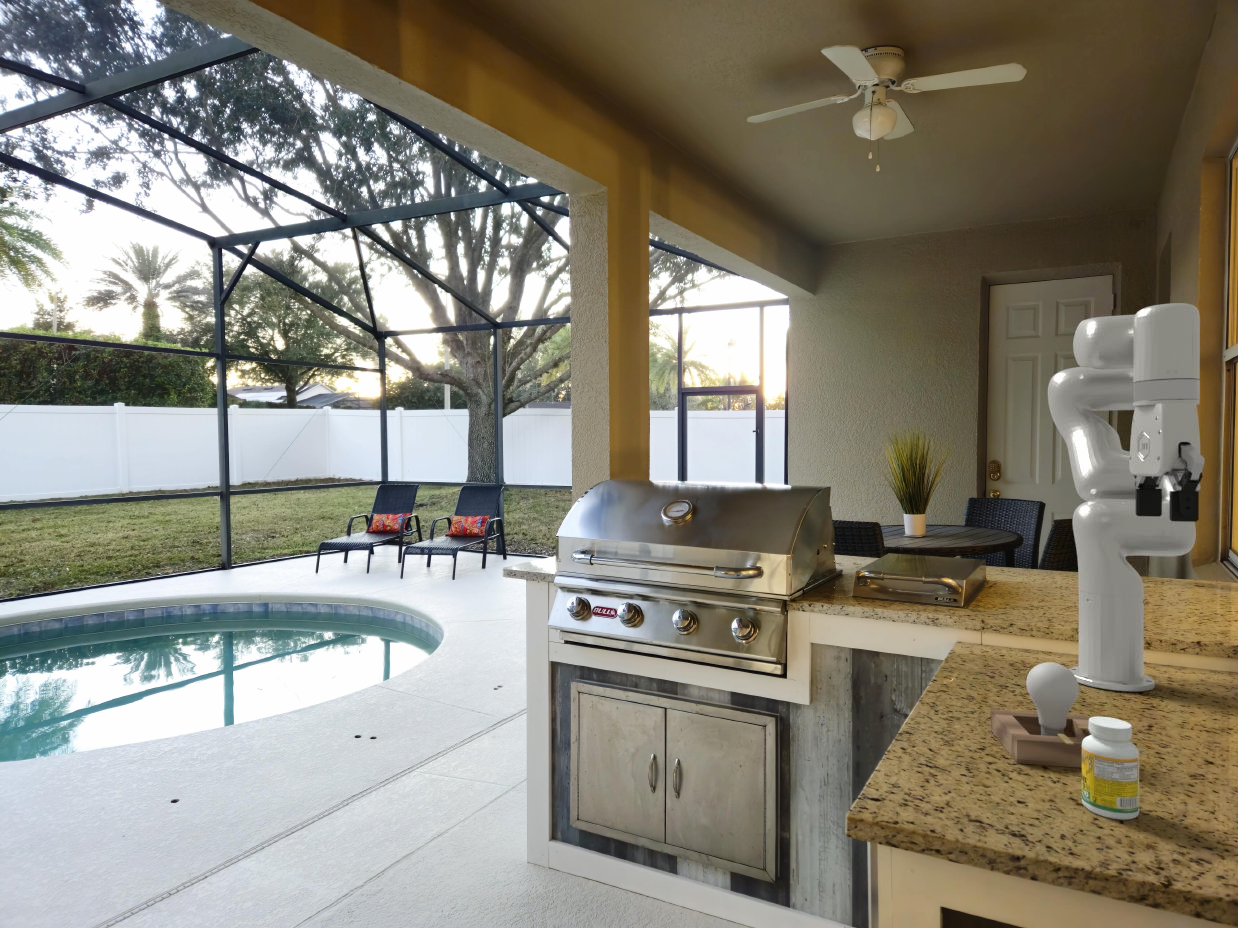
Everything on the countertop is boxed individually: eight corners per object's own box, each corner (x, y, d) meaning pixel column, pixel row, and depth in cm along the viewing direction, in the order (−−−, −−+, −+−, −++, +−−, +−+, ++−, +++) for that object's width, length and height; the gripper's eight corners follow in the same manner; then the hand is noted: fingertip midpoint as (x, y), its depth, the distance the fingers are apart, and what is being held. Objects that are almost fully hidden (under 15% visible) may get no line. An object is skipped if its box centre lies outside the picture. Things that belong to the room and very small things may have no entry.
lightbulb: (1035, 752, 99) (1035, 667, 99) (1019, 736, 106) (1019, 656, 105) (1087, 755, 98) (1087, 670, 98) (1068, 738, 104) (1068, 658, 104)
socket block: (990, 730, 109) (990, 708, 109) (1087, 736, 107) (1087, 713, 107) (1018, 764, 97) (1018, 739, 97) (1128, 772, 94) (1128, 746, 94)
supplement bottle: (1135, 825, 81) (1136, 734, 81) (1077, 810, 84) (1077, 723, 84) (1142, 807, 85) (1142, 721, 85) (1086, 794, 88) (1086, 710, 88)
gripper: (1109, 400, 116) (1108, 514, 116) (1166, 390, 99) (1166, 523, 99) (1164, 399, 114) (1164, 514, 114) (1233, 388, 97) (1232, 524, 97)
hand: (1165, 518), depth 106 cm, fingers open, 9 cm apart
